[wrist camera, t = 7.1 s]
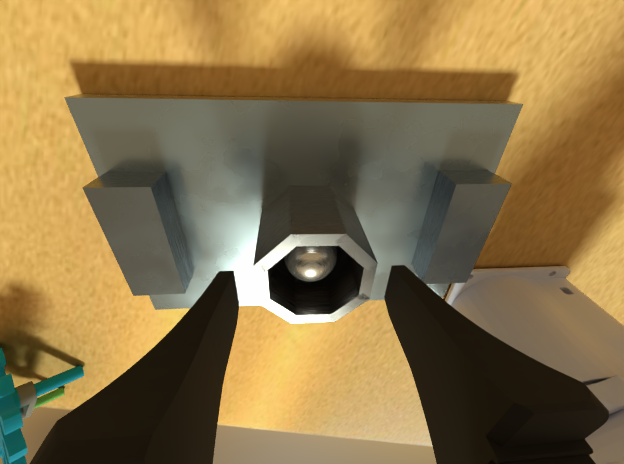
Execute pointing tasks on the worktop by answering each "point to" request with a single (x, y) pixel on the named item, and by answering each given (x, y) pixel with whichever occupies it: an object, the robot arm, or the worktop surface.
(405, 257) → the shaft mount
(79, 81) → the worktop surface
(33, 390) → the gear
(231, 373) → the worktop surface
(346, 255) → the collar
